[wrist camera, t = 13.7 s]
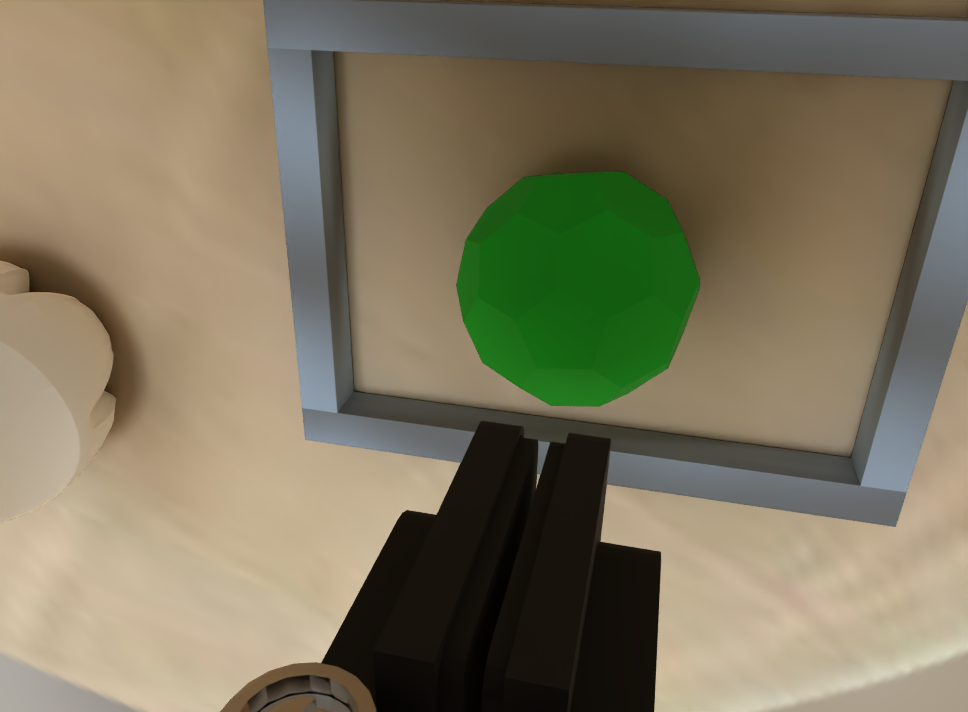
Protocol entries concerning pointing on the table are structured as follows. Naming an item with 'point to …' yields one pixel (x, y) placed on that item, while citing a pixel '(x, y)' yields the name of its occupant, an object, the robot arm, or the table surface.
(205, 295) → the table surface
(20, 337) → the water bottle
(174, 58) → the table surface
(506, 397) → the table surface
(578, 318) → the polyhedron
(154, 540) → the table surface
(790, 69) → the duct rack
